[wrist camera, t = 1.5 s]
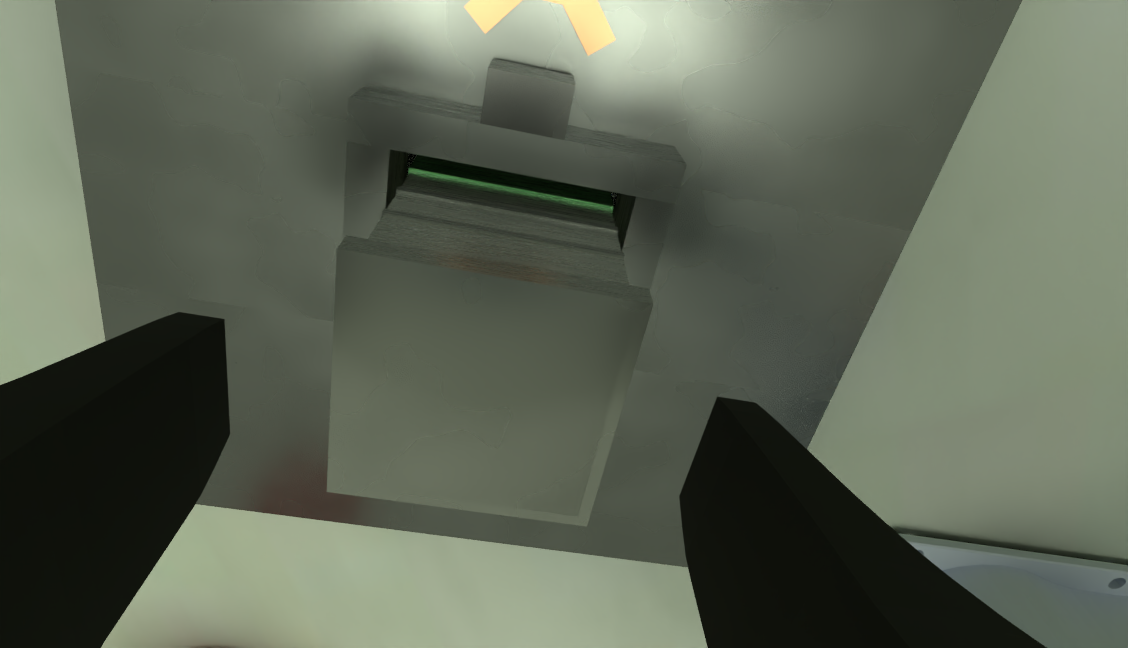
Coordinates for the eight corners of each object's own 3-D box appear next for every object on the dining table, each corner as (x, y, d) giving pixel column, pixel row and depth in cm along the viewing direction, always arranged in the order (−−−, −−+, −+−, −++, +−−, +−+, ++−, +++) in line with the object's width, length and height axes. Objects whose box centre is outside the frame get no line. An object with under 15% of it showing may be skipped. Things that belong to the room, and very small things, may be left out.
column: (614, 172, 15) (653, 304, 9) (574, 337, 17) (586, 526, 12) (419, 134, 15) (336, 248, 9) (402, 308, 17) (326, 491, 11)
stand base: (1045, -106, 13) (1133, -116, 11) (740, 554, 21) (758, 614, 19) (33, -372, 11) (-83, -446, 9) (144, 475, 19) (98, 533, 17)
